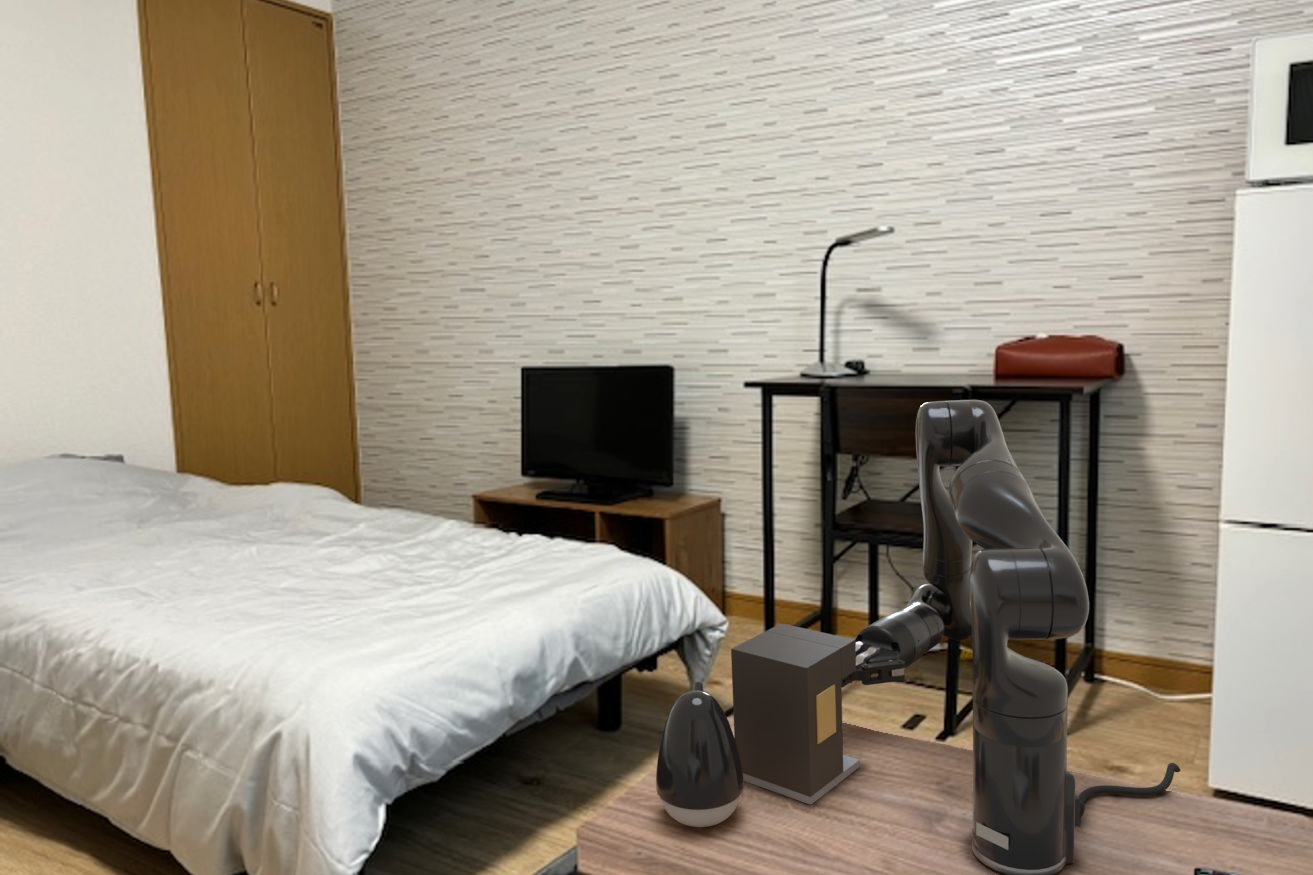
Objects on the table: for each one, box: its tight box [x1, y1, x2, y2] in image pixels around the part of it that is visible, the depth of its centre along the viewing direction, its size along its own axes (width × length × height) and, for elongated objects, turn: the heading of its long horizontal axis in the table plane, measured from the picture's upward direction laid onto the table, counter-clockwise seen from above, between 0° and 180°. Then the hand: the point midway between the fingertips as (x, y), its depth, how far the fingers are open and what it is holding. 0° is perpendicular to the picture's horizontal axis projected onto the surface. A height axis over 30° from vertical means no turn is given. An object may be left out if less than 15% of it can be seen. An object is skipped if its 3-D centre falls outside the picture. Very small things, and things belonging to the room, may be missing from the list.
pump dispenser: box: [655, 681, 745, 828], centre depth 115 cm, size 10×10×15 cm
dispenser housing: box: [730, 623, 861, 805], centre depth 123 cm, size 12×11×17 cm
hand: (829, 682), depth 129 cm, fingers closed
